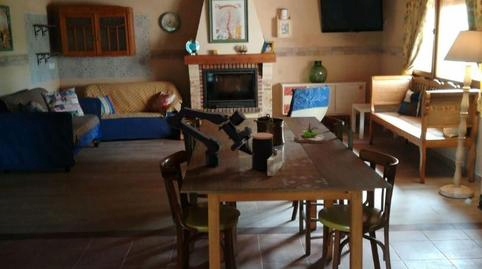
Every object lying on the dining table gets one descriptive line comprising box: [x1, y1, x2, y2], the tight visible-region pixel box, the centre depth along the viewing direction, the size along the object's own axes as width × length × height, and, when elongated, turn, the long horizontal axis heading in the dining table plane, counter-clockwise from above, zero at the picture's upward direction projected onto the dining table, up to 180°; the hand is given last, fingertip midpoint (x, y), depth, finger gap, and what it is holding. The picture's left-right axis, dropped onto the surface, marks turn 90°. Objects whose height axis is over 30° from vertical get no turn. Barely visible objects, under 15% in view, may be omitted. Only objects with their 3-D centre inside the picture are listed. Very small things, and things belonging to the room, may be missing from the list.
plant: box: [293, 122, 326, 144], centre depth 303 cm, size 20×20×11 cm
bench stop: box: [266, 148, 284, 177], centre depth 238 cm, size 3×20×11 cm, turn 162°
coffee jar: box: [251, 132, 274, 173], centre depth 239 cm, size 11×11×18 cm
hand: (252, 154), depth 241 cm, fingers closed, pressing on coffee jar
